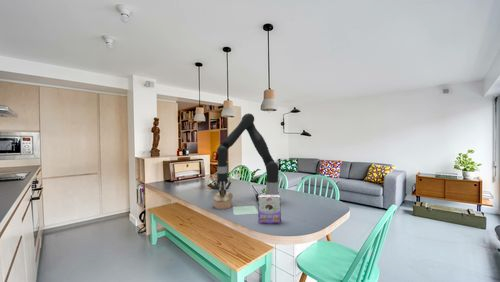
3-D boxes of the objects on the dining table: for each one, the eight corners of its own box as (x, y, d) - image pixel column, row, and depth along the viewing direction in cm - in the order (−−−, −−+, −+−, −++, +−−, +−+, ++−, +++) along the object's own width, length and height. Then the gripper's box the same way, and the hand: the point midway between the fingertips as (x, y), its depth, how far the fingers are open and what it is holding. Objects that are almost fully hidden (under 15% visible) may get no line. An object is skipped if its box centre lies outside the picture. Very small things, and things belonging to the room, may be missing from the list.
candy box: (280, 220, 135) (280, 194, 135) (281, 224, 130) (280, 196, 129) (258, 219, 137) (258, 194, 137) (258, 223, 131) (257, 196, 131)
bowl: (230, 203, 170) (230, 197, 170) (231, 209, 158) (231, 201, 158) (214, 204, 169) (214, 197, 169) (214, 210, 156) (213, 202, 156)
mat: (255, 206, 164) (255, 205, 164) (258, 214, 147) (258, 213, 147) (232, 207, 162) (232, 206, 162) (233, 215, 145) (233, 214, 145)
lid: (232, 192, 172) (232, 185, 170) (233, 201, 157) (232, 194, 156) (213, 193, 170) (213, 186, 169) (212, 202, 155) (212, 194, 154)
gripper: (231, 171, 168) (231, 193, 168) (213, 171, 166) (213, 194, 166) (231, 172, 160) (232, 195, 160) (212, 173, 159) (213, 196, 159)
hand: (222, 194), depth 163 cm, fingers closed on lid, 2 cm apart
